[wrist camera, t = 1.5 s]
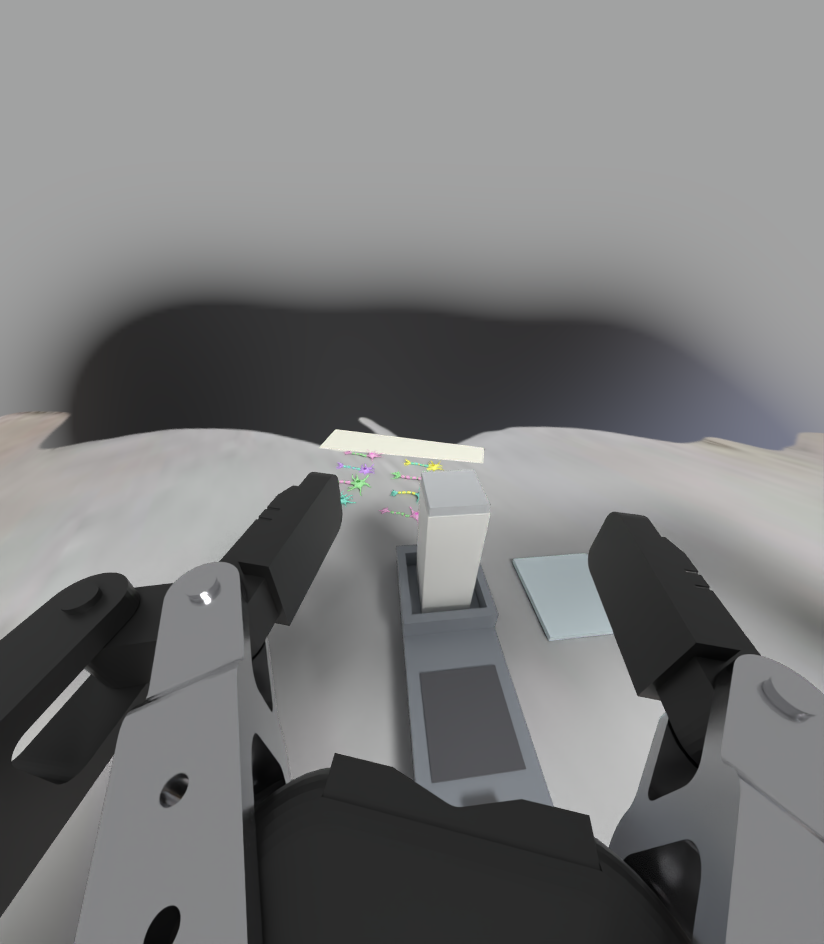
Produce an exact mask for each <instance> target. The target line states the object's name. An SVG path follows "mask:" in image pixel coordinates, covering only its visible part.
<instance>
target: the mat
mask: <svg viewBox="0 0 824 944" xmlns="http://www.w3.org/2000/svg"><path fill="white" fill-rule="evenodd" d="M513 564H514V567H515V569H516V571H517V573H518V575H519V577H520V580H521V582H522V584H523V586H524V588H525V590H526V593H527V595H528V597H529V599H530V601H531V604H532V606H533V608H534V610H535V612H536V614H537V617H538V619H539V621H540V623H541V625H542V627H543V630H544V632H545V634H546V636H547V638H548V640H549V641H552V640H561V639H571V638H580V637H589V636H599V635H608V634H614V633H613V631H612V628H611V625H610V623H609V620H608V618H607V615H606V612H605V610H604V607H603V605H602V602H601V599H600V597H599V594H598V592H597V589H596V586H595V584H594V581H593V579H592V576H591V573H590V571H589V567H588V555H587V553H580V554H567V555H554V556H542V557H529V558H516V559H513Z"/></svg>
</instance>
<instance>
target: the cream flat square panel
mask: <svg viewBox="0 0 824 944" xmlns="http://www.w3.org/2000/svg"><path fill="white" fill-rule="evenodd" d="M319 448H325V449H333V450H336V451H347V452H345V453H346V454H349V453H351V452H350V451H357V452H368V453H369V455H363V454H362V453H361V454H360V453H352V454H356V455H361V456H364V457H367V456H369V457H370V458H372V460H373V458H374V457H382V456H377V455H380V454H389V455H400V456H411V457H421V458H432V459H443V460H453V461H464V462H475V463H483V457H484V448H480V447H472V446H464V445H456V444H448V443H440V442H432V441H424V440H416V439H408V438H400V437H393V436H385V435H377V434H369V433H360V432H352V431H344V430H335V431H334V432H333V433H332V434H331V435H330V436H329V437H328V438H327V440H326V441H325V442H324V443H323V444H322V445H321V446H320V447H319ZM377 453H379V454H377ZM405 461H406V460H405ZM406 462H408V463H406V464H407V465H409V464H415V465H420V466H425V467H429V468H427V469H429V470H433V471H435V470H437V469H440V468H437V467H438V466H441V465H439V463H438V464H436V465H435V464H433V462H432V461H431V462H432V465H430V463H429V465H423V464H418V463H413V462H411V463H410V461H408V460H407V461H406ZM429 462H430V461H429ZM337 463H338V462H337ZM338 464H339V465H340V466H339V468H341V467H345V468H352V469H356V470H361V471H359V472H360V473H364V475H365V474H366V473H373V472H371V471H369V470H371V469H370V468H372V466H373V465H374V464H373V465H372V466H371V467H370V468H367V467H366V464H365V467H364V468H363V467H361V468H362V469H361V468H355V467H351V466H343V464H341V463H340V462H339V463H338ZM404 465H405V464H404ZM362 466H363V465H362ZM336 468H338V467H337V466H336ZM339 468H338V469H339ZM441 468H442V467H441ZM372 469H373V468H372ZM441 470H443V469H441ZM426 471H427V470H426ZM423 472H424V471H423ZM427 472H428V471H427ZM374 474H375V473H374ZM392 474H394V473H392ZM356 475H357V474H356ZM394 475H396V476H395V477H396V478H399V477H402V478H405V477H406V478H407V479H418V480H420V479H421V477H418V478H417V477H410V476H404V475H400V473H399V472H398V473H396V472H395V474H394ZM367 477H368V476H367ZM367 477H366V478H367ZM395 477H394V478H393V479H395ZM366 478H365V479H363V480H358V476H357V478H356V480H355V479H354V478H353V474H352V479H353V480H354V482H351V481H344V480H340V481H338V482H339V483H346V484H353V485H354V487H348V488H351V489H350V490H352V489H354V488H359V489H360V495H361V487H362V486H363V485H367V486H368V487H370V486H369V484H367V483H365V482H364V481H365V480H366ZM350 490H347V491H350ZM397 493H399V494H401V493H402V494H405V493H408V494H411V493H412V494H414V495H417V496H418V500H419V493H415V492H411V491H407V492H405V491H403V492H400V491H399V492H396V491H394V490H393V492H392V493H391V494H392V496H395V495H396V494H397ZM341 494H342V493H341ZM346 495H347V494H346ZM346 495H343V494H342V496H341V497H340V498H341V504H343V503H344V504H345V505H346V502H349V501H347V499H348V498H349V497H350V496H353V495H350V496H349V497H344V496H346ZM390 496H391V495H390ZM351 499H353V498H351ZM418 500H417V501H418ZM349 503H356V502H349ZM410 508H411V507H410ZM411 509H412V508H411ZM378 511H383V513H384V512H390V513H392V514H394V513H395V512H393V511H388V507H387V508H386V509H384V510H378ZM381 514H382V513H381ZM395 514H401V515H402V516H403V515H404V516H405V517H413V518H415V519H416V520H417V521H418V514H419V511H418V512H415V510H414V512H413V510H412V515H405V514H404V513H400V512H396V513H395Z"/></svg>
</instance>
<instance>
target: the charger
mask: <svg viewBox="0 0 824 944" xmlns="http://www.w3.org/2000/svg"><path fill="white" fill-rule="evenodd" d="M490 506H491V504H490V502H489V500H488V498H487V495H486V493H485V491H484V489H483V487H482V485H481V483H480V481H479V479H478V477H477V475H476V473H475V471H474V469H473V470H452V471H432V472H422V473H421V479H420V487H419V514H418V540H417V567H416V575H417V582H418V590H419V597H420V604H421V611H422V613H433V612H443V611H454V610H465V609H469V608H470V604H471V600H472V595H473V591H474V586H475V582H476V577H477V573H478V568H479V564H480V559H481V555H482V551H483V546H484V542H485V537H486V533H487V528H488V524H489V519H490V515H491V513H490V511H489V510H490Z"/></svg>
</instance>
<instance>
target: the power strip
mask: <svg viewBox="0 0 824 944" xmlns="http://www.w3.org/2000/svg"><path fill="white" fill-rule="evenodd" d="M396 552H397V571H398V583H399V596H400V608H401V621H402V633H403V646H404V658H405V671H406V683H407V696H408V708H409V721H410V733H411V746H412V758H413V771H414V781H415V782H416V783H418V784H419V785H421V786H422V787H424V788H425V789H427V790H428V791H430V792H431V793H433V794H434V795H436V796H437V797H439V798H441V799H442V800H444V801H445V802H447V803H448V804H450V805H452V806H456V807H465V806H472V805H480V804H487V803H495V802H502V801H510V800H518V799H524V800H528V801H532V802H536V803H541V804H545V805H549V806H553V803H552V800H551V797H550V794H549V791H548V788H547V785H546V782H545V779H544V776H543V772H542V769H541V766H540V763H539V760H538V757H537V754H536V751H535V748H534V745H533V742H532V739H531V736H530V733H529V730H528V727H527V724H526V721H525V718H524V715H523V712H522V709H521V706H520V703H519V700H518V697H517V694H516V691H515V688H514V685H513V682H512V679H511V676H510V673H509V670H508V667H507V664H506V661H505V658H504V655H503V652H502V649H501V646H500V643H499V640H498V636H497V633H496V630H495V624H496V621H497V618H498V612H497V609H496V606H495V603H494V601H493V598H492V595H491V592H490V589H489V586H488V584H487V581H486V578H485V575H484V572H483V570H482V567H481V564H479V568H478V573H477V577H476V582H475V586H474V591H473V595H472V600H471V604H470V608H469V609H465V610H454V611H443V612H433V613H422V611H421V604H420V597H419V590H418V582H417V575H416V567H417V545H404V546H396ZM553 807H554V806H553Z"/></svg>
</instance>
